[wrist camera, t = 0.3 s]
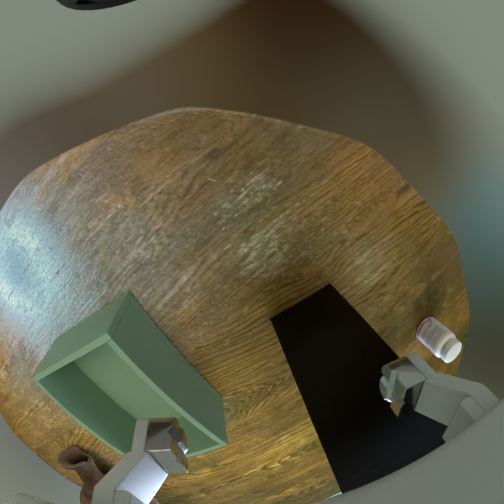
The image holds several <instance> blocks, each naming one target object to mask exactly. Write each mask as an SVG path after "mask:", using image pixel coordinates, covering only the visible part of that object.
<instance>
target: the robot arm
mask: <svg viewBox="0 0 504 504" xmlns="http://www.w3.org/2000/svg"><path fill="white" fill-rule="evenodd" d="M381 372H382V374H383V376H382V378H381V379H380V383H379V387H380V392H381V394H382V396H383V398H384V399H385V400H387V401H390V408H391V409H392V411H393V412H394V413H395V415H396V416H397V417H399V416H401V415H403V414H406V413H408V412H410V411H412V410H415V411H417V412H419V413H421V414H423V415H425V416H427V417H429V418H431V419H434V420H436V421H438V422H440V423H442V424H444V425H447V426H448V427H447V428H446V430H445V432H444V434H443V436H442V438H443V439H444V441H445V442H446V443H444V444H443V445H441V446H440V447H438V448H436V449H435V450H433V451H432V452H430V453H428V454H427V455H425V456H423V457H421V458H420V459H418V460H416V461H414V462H412V463H411V464H409V465H407V466H405V467H403V468H401V469H399V470H397V471H395V472H393V473H391V474H389V475H387V476H385V477H382V478H380V479H378V480H376V481H373V482H371V483H369V484H366V485H364V486H361V487H359V488H356V489H354V490H351V491H348V492H346V493H343V494H340V495H337V496H334V497H331V498H328V499H325V500H322V501H318V502H315V503H312V504H504V398H503V399H502V400H501V401H499V399H498V398H497V397H496V396H495V395H494V394H493V393H492V392H491V391H490V390H488V388H487V387H486V386H485V385H484V384H480V383H476V382H473V381H468V380H465V379H461V378H458V377H454V376H450V375H447V374H443V373H440V372H439V373H436V372H435V371H434V370H433V369H432V368H431V367H430V366H429V365H428V364H427V363H426V362H425V361H424V360H423V359H422V358H421V357H420V356H419V355H418V354H417V353H415V352H413V353H411V354H408V355H406V356H404V357H401V358H399V359H397V360H394V361H392V362H390V363H388V364H385V365H384V366H383V367H382V371H381ZM187 450H188V442H187V437H186V434H185V432H184V430H183V429H182V428H180V427H179V422H178V420H177V418H176V417H168V418H150V419H138V420H137V422H136V425H135V431H134V437H133V443H132V449H131V452H127V453H126V454H125V455H124V456H123V457H122V458H121V459H120V460H119V461H118V463H117V464H116V465H115V466H114V467H113V468H112V469H111V470H110V471H109V472H108V473H107V474H106V475H105V476H104V477H103V478H102V479H101V480H100V481H99V482H98V483H97V484H96V485H95V486H94V491H93V496H92V502H91V504H149V503H150V501H151V500H152V498H153V497H154V495H155V494H156V492H157V491H158V489H159V488H160V486H161V484H162V483H163V481H164V480H165V478H166V477H167V475H168V474H169V473H184V472H188V458H187V457H186V455H185V453H186V451H187ZM3 504H54V503H51V502H47V501H44V500H41V499H38V498H35V497H33V496H30V495H27V494H23V493H18V494H16V495H14V496H13V497H11V498H10V499H8V500H7V501H5V502H4V503H3Z"/></svg>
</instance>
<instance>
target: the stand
mask: <svg viewBox="0 0 504 504" xmlns="http://www.w3.org/2000/svg"><path fill="white" fill-rule="evenodd" d="M271 322H272V324H273V327H274V329H275V332H276V334H277V337H278V339H279V342H280V344H281V347H282V349H283V351H284V354H285V356H286V359H287V361H288V364H289V366H290V369H291V371H292V374H293V376H294V379H295V381H296V384H297V386H298V388H299V391H300V393H301V396H302V398H303V401H304V403H305V406H306V408H307V410H308V413H309V415H310V418H311V420H312V423H313V425H314V427H315V430H316V432H317V435H318V437H319V439H320V442H321V444H322V447H323V449H324V452H325V454H326V456H327V459H328V461H329V464H330V466H331V468H332V471H333V473H334V476H335V478H336V480H337V483H338V485H339V487H340V490H341V492H342V494H343V493H346V492H348V491H351V490H354V489H356V488H359V487H361V486H364V485H366V484H369V483H371V482H373V481H376V480H378V479H380V478H382V477H385V476H387V475H389V474H391V473H393V472H395V471H397V470H399V469H401V468H403V467H405V466H407V465H409V464H411V463H412V462H414V461H416V460H418V459H420V458H421V457H423V456H425V455H427V454H428V453H430V452H432V451H433V450H435V449H436V448H438V447H440V446H441V445H443V444H444V443H446V442H445V441H444V439H443V438H442V436H443V434H444V432H445V430H446V428H447V427H448V426H447V425H444V424H442V423H440V422H438V421H436V420H434V419H431V418H429V417H427V416H425V415H423V414H421V413H419V412H417V411H415V410H412V411H410V412H408V413H406V414H403V415H401V416H399V417H397V416H396V415H395V413H394V412H393V411H392V409H391V408H390V401H387V400H385V399H384V398H383V396H382V394H381V392H380V387H379V383H380V379H381V378H382V376H383V374H382V372H381V371H382V367H383V366H384V365H385V364H388V363H390V362H392V361H394V360H397V359H399V357H398V356H397V355H396V354H395V352H394V351H393V350H392V349H391V348H390V347H389V346H388V345H387V344H386V343H385V341H384V340H383V339H382V338H381V337H380V336H379V335H378V334H377V333H376V332H375V331H374V329H373V328H372V327H371V326H370V325H369V324H368V323H367V322H366V321H365V320H364V319H363V318H362V316H361V315H360V314H359V313H358V312H357V311H356V310H355V309H354V308H353V307H352V306H351V305H350V304H349V303H348V302H347V301H346V299H345V298H344V297H343V296H342V295H341V294H340V293H339V292H338V291H337V290H336V289H335V288H334V287H333V286H332V285H331V284H329V285H327V286H325V287H324V288H322V289H320V290H319V291H317V292H316V293H314V294H312V295H311V296H309V297H307V298H305V299H304V300H302V301H300V302H299V303H297V304H295V305H294V306H292V307H290V308H288V309H287V310H285V311H283V312H281V313H280V314H278V315H276V316H274V317H273V318H271Z"/></svg>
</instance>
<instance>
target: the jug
mask: <svg viewBox="0 0 504 504" xmlns="http://www.w3.org/2000/svg"><path fill="white" fill-rule="evenodd" d="M58 462H59V463H60V464H61V466H62V467H64V468H66V469H74V470H75V471H76V472H77V473H78V475H79V476H80V478H81V480H82V481H83V483H84V485H83V487H82V490H81V492H80V503H81V504H91V502H92V496H93V491H94V486H95V485H96V484H97V483H98V482H99V481H100V480H101V479H102V478H103V477H104V476H105V475H106V474H102V473H101V472H100V471H99V469H98V468H97V466H96V465H95V463H94V461H93V458H92V456H90V455H88V454H85V453H84V452H83V451H82V450H81V449H80V448H79V447H77V446H71V447H69V448H67V449H66V450H64V451H63V452H62V453H61V454H60V456H59V458H58ZM149 504H159V503H158V501H157V500H156V499H155V498H154V497H153V498H152V500H151V501H150V503H149Z"/></svg>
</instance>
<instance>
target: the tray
mask: <svg viewBox="0 0 504 504" xmlns="http://www.w3.org/2000/svg"><path fill="white" fill-rule="evenodd" d="M31 379H32V380H33V381H34V382H35V383H36V384H37V385H38V386H39V387H40V388H41V389H42V390H43V391H44V392H45V393H46V394H47V395H48V396H49V397H50V398H51V399H52V400H53V401H54V402H55V403H56V404H57V405H58V406H60V407H61V408H62V409H63V410H64V411H65V412H66V413H67V414H68V415H70V416H71V417H72V418H73V419H74V420H75V421H77V422H78V423H79V424H80V425H82V426H83V427H84V428H85V429H86V430H88V431H89V432H90V433H92V434H93V435H94V436H95V437H97V438H98V439H99V440H101V441H102V442H104V443H105V444H106V445H108V446H109V447H111V448H112V449H113V450H115V451H116V452H118V453H119V454H121V455H122V456H124V455H125V454H126V453H127V452H131V449H132V443H133V437H134V431H135V425H136V422H137V420H138V419H150V418H168V417H176V418H177V420H178V422H179V427H180V428H182V429H183V430H184V432H185V434H186V437H187V442H188V450H187V451H186V453H185V455H186V457H187V458H188V457H191V456H195V455H198V454H202V453H205V452H208V451H211V450H214V449H217V448H220V447H223V446H226V445H228V443H227V435H226V426H225V417H224V408H223V398H222V396H221V395H220V394H219V393H218V392H217V391H216V390H215V389H214V388H213V387H212V386H211V385H210V384H209V383H208V382H207V381H206V380H205V379H204V378H203V377H202V376H201V375H200V374H199V373H198V372H197V371H196V370H195V368H194V367H193V366H192V365H191V364H190V363H189V362H188V361H187V360H186V359H185V358H184V357H183V355H182V354H181V353H180V352H179V351H178V350H177V349H176V348H175V346H174V345H173V344H172V343H171V342H170V341H169V340H168V338H167V337H166V336H165V335H164V334H163V333H162V331H161V330H160V329H159V328H158V327H157V325H156V324H155V323H154V322H153V321H152V319H151V318H150V317H149V316H148V314H147V313H146V312H145V311H144V309H143V308H142V307H141V306H140V304H139V303H138V302H137V300H136V299H135V298H134V297H133V295H132V294H131V293H130V291H127V292H126V293H124V294H123V295H121V296H120V297H118V298H117V299H115V300H113V301H112V302H110V303H109V304H107V305H106V306H104V307H103V308H101V309H100V310H98V311H97V312H95V313H94V314H92V315H91V316H89V317H87V318H86V319H84V320H83V321H81V322H80V323H78V324H77V325H75V326H74V327H73V328H71V329H70V330H68V331H67V332H65V333H64V334H62V335H61V336H59V337H58V338H57V339H56V340H55V342H54V343H53V345H52V346H51V348H50V349H49V350H48V352H47V353H46V355H45V356H44V358H43V359H42V361H41V363H40V364H39V366H38V367H37V369H36V370H35V372H34V373H33V375H32V377H31Z"/></svg>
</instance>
